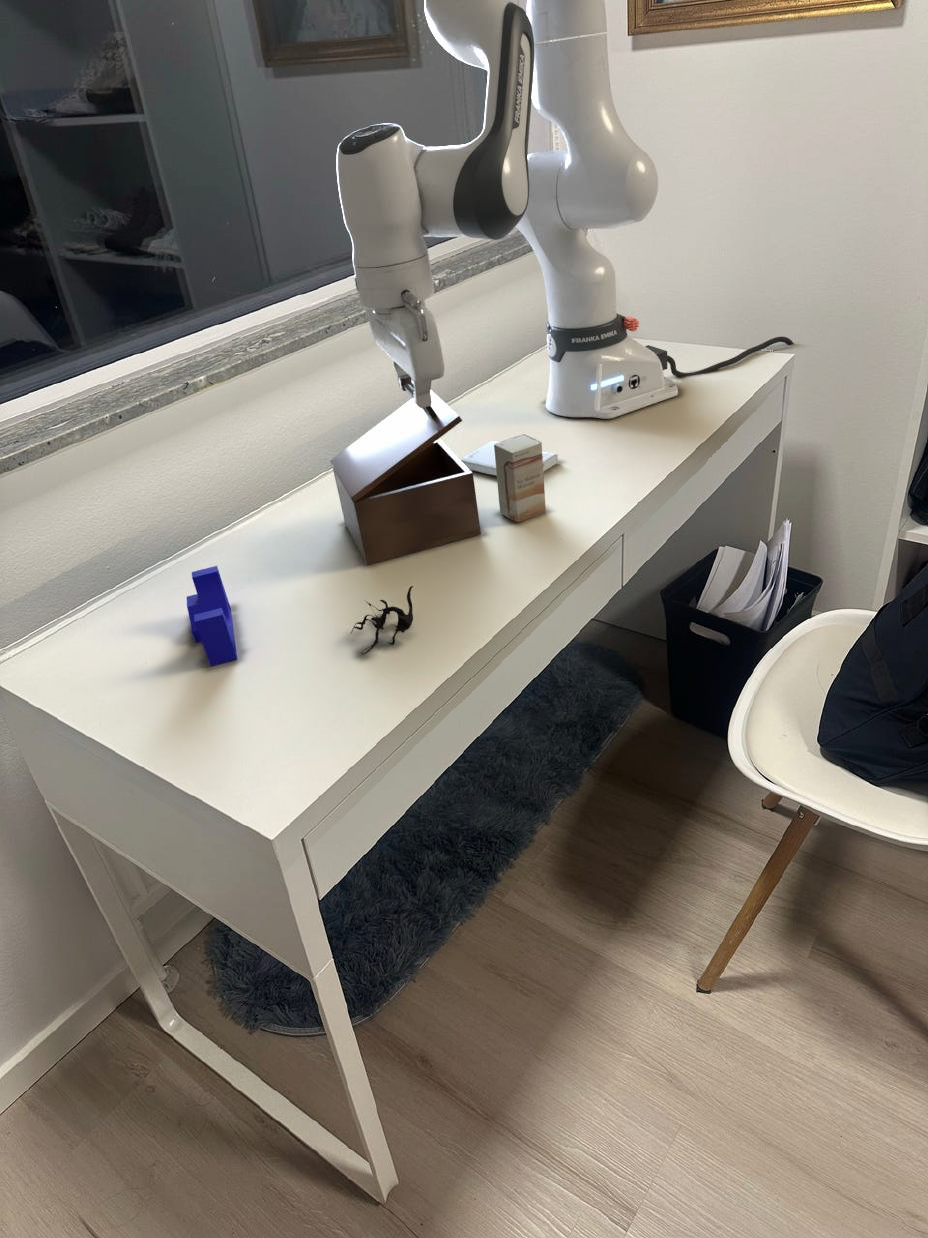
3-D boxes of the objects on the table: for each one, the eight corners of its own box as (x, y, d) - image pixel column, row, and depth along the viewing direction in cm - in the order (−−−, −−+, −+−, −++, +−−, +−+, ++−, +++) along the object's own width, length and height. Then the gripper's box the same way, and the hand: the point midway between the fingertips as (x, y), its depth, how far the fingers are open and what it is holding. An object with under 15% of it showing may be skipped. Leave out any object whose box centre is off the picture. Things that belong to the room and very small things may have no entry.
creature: (347, 665, 97) (413, 652, 94) (327, 625, 94) (394, 610, 92) (366, 625, 103) (428, 611, 101) (347, 587, 101) (410, 572, 98)
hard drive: (459, 459, 135) (523, 473, 127) (493, 439, 140) (557, 452, 132) (460, 469, 136) (524, 483, 128) (494, 449, 140) (558, 462, 133)
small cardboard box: (517, 524, 118) (510, 453, 112) (499, 513, 121) (490, 444, 116) (549, 511, 120) (543, 440, 114) (530, 501, 123) (523, 432, 118)
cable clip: (193, 617, 108) (178, 575, 105) (230, 607, 109) (216, 565, 106) (197, 670, 98) (180, 625, 95) (237, 659, 99) (222, 614, 96)
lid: (430, 390, 119) (411, 362, 116) (462, 420, 108) (442, 389, 105) (333, 465, 120) (311, 438, 117) (354, 502, 109) (331, 473, 106)
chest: (449, 496, 128) (441, 438, 123) (481, 534, 117) (473, 472, 112) (345, 523, 125) (332, 466, 120) (367, 565, 113) (353, 503, 109)
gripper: (447, 294, 96) (465, 415, 104) (398, 264, 113) (416, 370, 121) (392, 307, 95) (414, 428, 103) (350, 274, 112) (372, 381, 119)
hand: (415, 396), depth 112 cm, fingers closed on lid, 6 cm apart
